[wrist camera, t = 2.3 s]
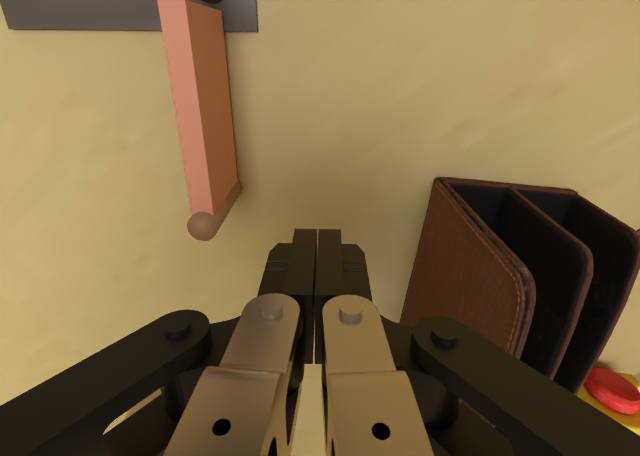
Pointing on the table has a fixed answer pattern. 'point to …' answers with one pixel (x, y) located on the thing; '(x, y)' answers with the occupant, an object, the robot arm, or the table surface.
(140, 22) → the grey and brown panels
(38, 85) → the table surface
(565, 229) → the letter holder
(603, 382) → the toy measuring tape
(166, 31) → the swing panel
